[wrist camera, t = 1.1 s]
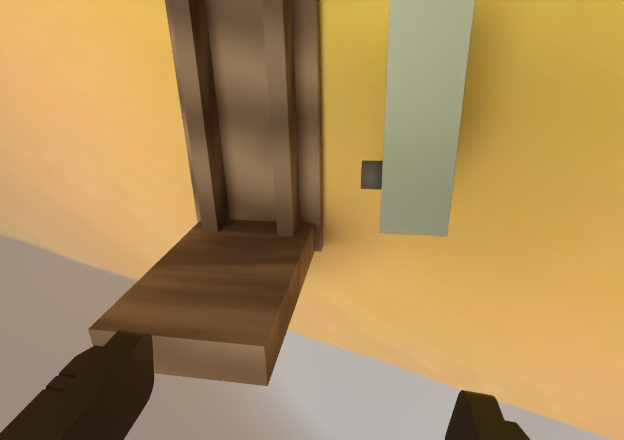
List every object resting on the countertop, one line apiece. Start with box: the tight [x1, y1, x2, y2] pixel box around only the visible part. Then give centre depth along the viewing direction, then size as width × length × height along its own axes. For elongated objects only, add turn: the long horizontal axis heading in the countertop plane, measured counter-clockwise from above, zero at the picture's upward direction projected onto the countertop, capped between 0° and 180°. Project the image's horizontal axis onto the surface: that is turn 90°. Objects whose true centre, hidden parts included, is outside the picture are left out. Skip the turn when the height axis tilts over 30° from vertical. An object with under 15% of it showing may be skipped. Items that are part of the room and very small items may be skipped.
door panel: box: [361, 0, 475, 236], centre depth 22 cm, size 10×4×12 cm, turn 2°
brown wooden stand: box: [89, 0, 323, 386], centre depth 23 cm, size 22×10×15 cm, turn 2°
